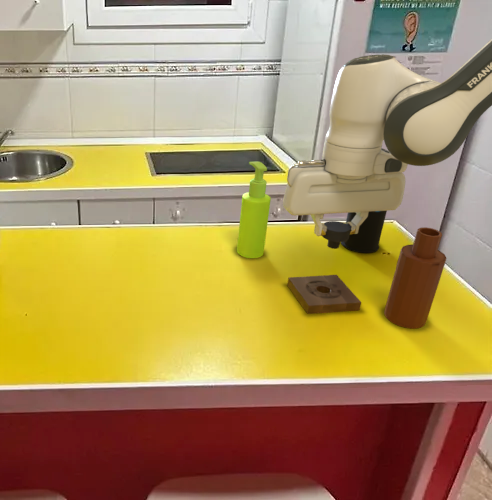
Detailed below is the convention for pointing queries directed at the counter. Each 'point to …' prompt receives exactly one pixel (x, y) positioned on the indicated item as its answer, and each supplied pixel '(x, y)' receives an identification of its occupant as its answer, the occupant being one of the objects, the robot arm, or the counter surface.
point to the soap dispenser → (254, 216)
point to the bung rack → (323, 294)
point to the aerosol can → (366, 233)
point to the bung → (336, 233)
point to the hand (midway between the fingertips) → (335, 233)
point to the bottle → (416, 280)
